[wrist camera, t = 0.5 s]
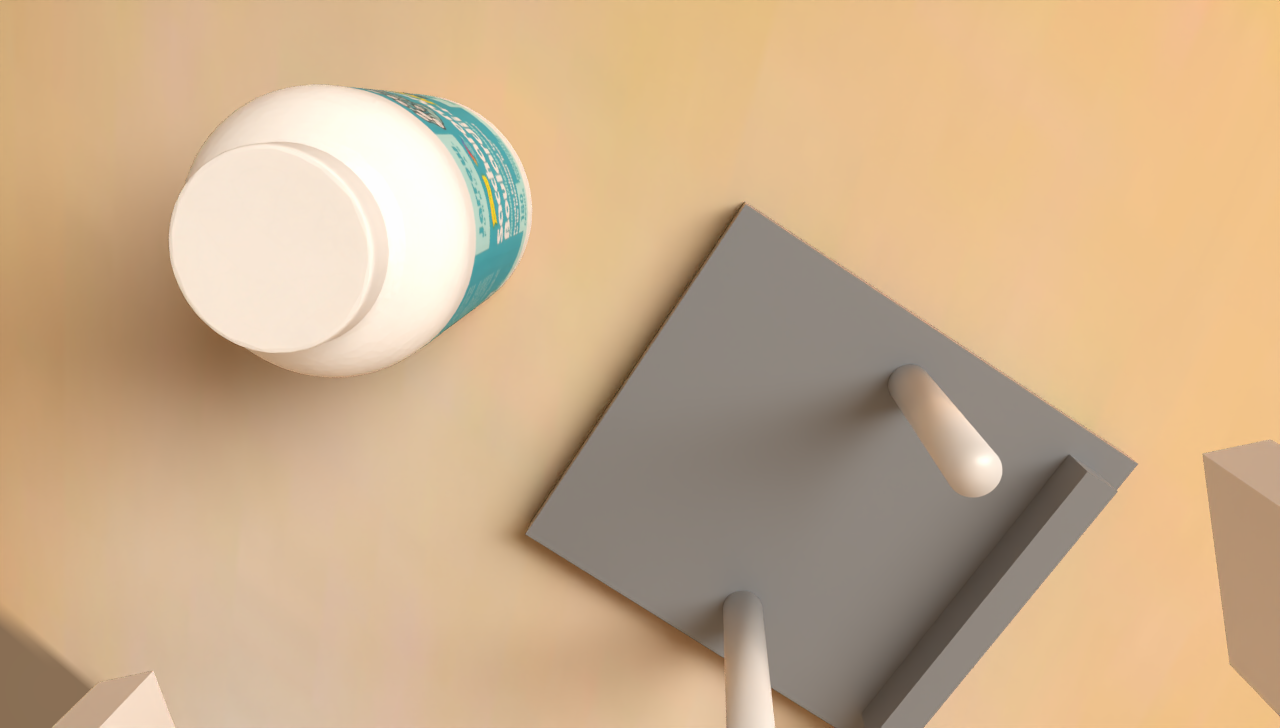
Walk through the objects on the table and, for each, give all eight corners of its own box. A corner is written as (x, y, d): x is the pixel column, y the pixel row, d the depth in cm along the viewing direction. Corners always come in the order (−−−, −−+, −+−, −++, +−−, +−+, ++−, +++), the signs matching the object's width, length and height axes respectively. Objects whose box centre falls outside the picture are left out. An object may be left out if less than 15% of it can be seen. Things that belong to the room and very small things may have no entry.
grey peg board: (529, 523, 39) (470, 660, 29) (744, 201, 36) (757, 233, 26) (887, 747, 40) (945, 950, 30) (1126, 454, 37) (1277, 576, 27)
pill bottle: (581, 206, 36) (508, 257, 23) (437, 353, 38) (291, 481, 24) (420, 45, 35) (248, 2, 22) (279, 203, 37) (40, 252, 24)
